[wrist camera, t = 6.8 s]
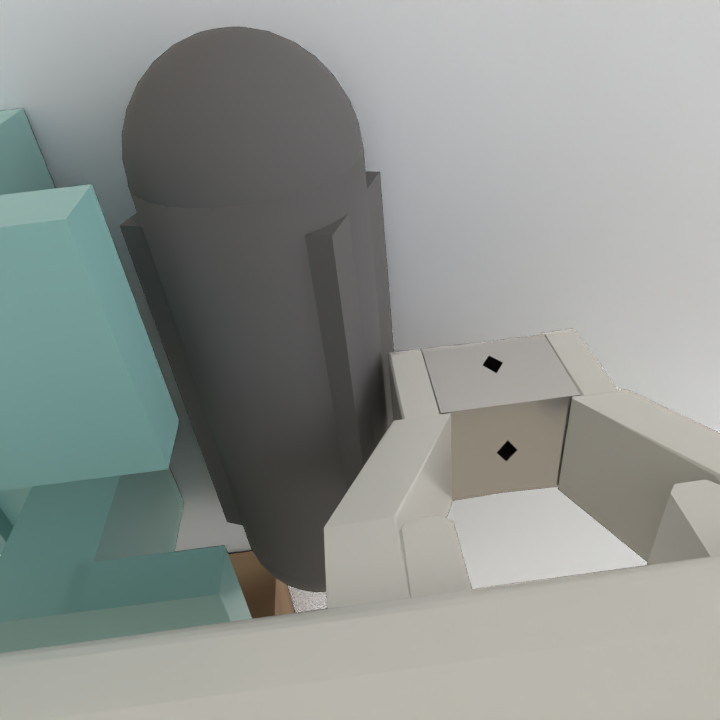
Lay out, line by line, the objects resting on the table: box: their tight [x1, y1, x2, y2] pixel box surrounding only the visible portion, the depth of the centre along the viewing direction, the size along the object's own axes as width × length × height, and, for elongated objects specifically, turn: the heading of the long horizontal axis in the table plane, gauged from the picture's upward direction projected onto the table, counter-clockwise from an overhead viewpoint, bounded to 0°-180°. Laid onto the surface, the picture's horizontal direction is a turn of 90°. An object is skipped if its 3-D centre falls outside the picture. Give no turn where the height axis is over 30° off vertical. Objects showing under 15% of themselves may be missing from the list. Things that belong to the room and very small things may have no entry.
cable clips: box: [0, 108, 252, 653], centre depth 9 cm, size 6×8×4 cm
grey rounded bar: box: [120, 27, 394, 592], centre depth 10 cm, size 10×3×3 cm, turn 6°
